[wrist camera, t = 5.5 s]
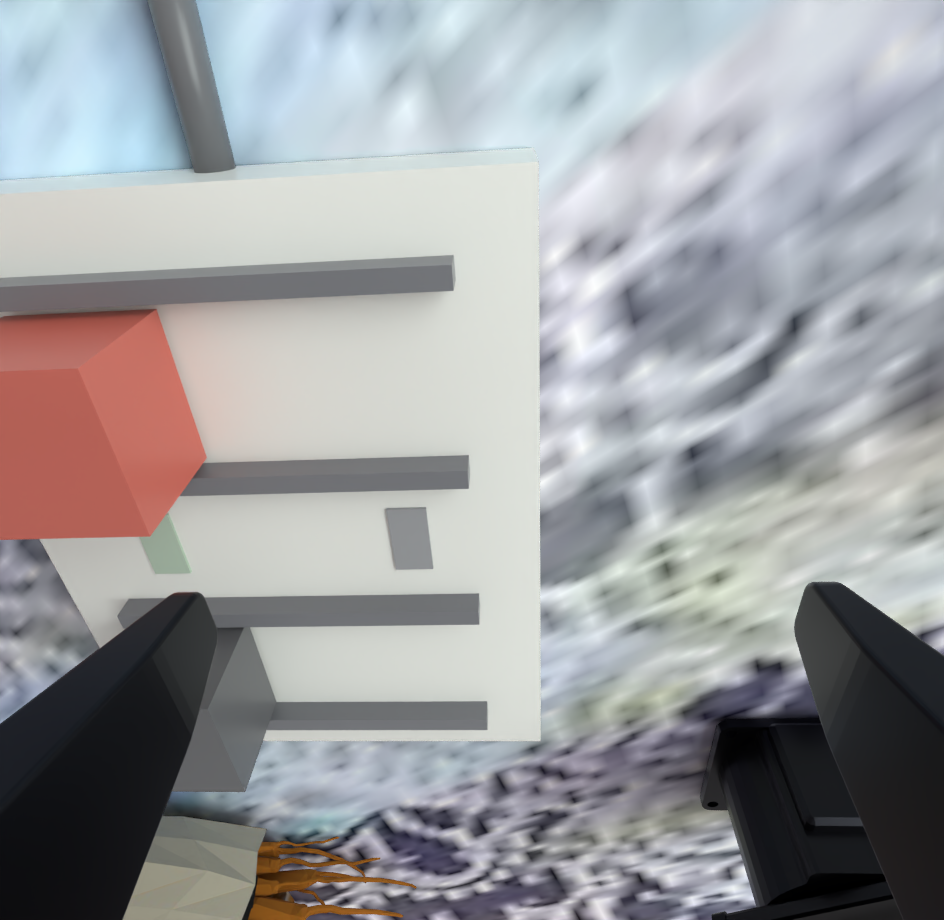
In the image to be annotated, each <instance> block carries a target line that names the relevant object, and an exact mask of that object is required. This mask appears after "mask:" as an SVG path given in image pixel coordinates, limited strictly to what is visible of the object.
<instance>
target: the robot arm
mask: <svg viewBox="0 0 944 920" xmlns="http://www.w3.org/2000/svg"><path fill="white" fill-rule="evenodd" d="M794 630H795V637H796V641H797V644H798V647H799V651H800V654H801V657H802V661H803V664H804V667H805V671H806V674H807V677H808V681H809V684H810V687H811V691H812V694H813V697H814V701H815V704H816V707H817V711H818V714H819V717H820V719H727V720H723V721H721V722H720V723H718V725H717V727H716V732H715V736H714V740H713V744H712V748H711V752H710V756H709V761H708V765H707V769H706V773H705V777H704V781H703V786H702V790H701V794H700V799H701V803H702V807H703V808H705V809H707V810H728V812H729V815H730V819H731V822H732V826H733V829H734V832H735V836H736V839H737V843H738V846H739V849H740V853H741V856H742V859H743V863H744V866H745V870H746V873H747V876H748V880H749V883H750V887H751V890H752V893H753V897H754V900H755V903H756V908H751V909H747V910H742V911H738V912H733V913H728V914H727V913H726V912H725V911H724V912H720V913H715V914H712V920H944V655H942V654H941V653H939V652H938V651H936V650H935V649H934V648H932V647H931V646H929V645H928V644H927V643H925V642H924V641H922V640H921V639H920V638H918V637H917V636H915V635H914V634H912V633H911V632H910V631H908V630H907V629H905V628H904V627H903V626H901V625H900V624H898V623H897V622H896V621H894V620H893V619H891V618H890V617H888V616H887V615H886V614H884V613H883V612H881V611H880V610H879V609H877V608H876V607H874V606H873V605H872V604H870V603H869V602H867V601H866V600H864V599H863V598H862V597H860V596H859V595H857V594H856V593H855V592H853V591H852V590H850V589H849V588H848V587H846V586H845V585H843V584H841V583H839V582H812V583H809V584H808V585H807V586H806V588H805V590H804V593H803V596H802V600H801V603H800V606H799V609H798V613H797V616H796V619H795V625H794ZM217 642H218V631H217V626H216V624H215V621H214V619H213V616H212V614H211V611H210V609H209V606H208V604H207V601H206V599H205V597H204V596H203V595H202V594H201V593H199V592H176V593H173V594H171V595H169V596H168V597H167V598H165V599H164V600H163V601H161V602H160V603H159V604H157V605H156V606H155V607H153V608H152V609H151V610H149V611H148V612H147V613H146V614H144V615H143V616H142V617H140V618H139V619H138V620H136V621H135V622H134V623H132V624H131V625H130V626H128V627H127V628H126V629H124V630H123V631H122V632H121V633H119V634H118V635H117V636H115V637H114V638H113V639H111V640H110V641H109V642H107V643H106V644H105V645H103V646H102V647H101V648H99V649H98V650H97V651H95V652H94V653H93V654H92V655H90V656H89V657H88V658H86V659H85V660H84V661H82V662H81V663H80V664H78V665H77V666H76V667H74V668H73V669H72V670H70V671H69V672H68V673H67V674H65V675H64V676H63V677H61V678H60V679H59V680H57V681H56V682H55V683H53V684H52V685H51V686H49V687H48V688H47V689H45V690H44V691H43V692H42V693H40V694H39V695H38V696H36V697H35V698H34V699H32V700H31V701H30V702H28V703H27V704H26V705H24V706H23V707H22V708H20V709H19V710H18V711H17V712H15V713H14V714H13V715H11V716H10V717H9V718H7V719H6V720H5V721H3V722H2V723H1V724H0V920H123V918H124V915H125V913H126V910H127V907H128V905H129V902H130V899H131V897H132V894H133V892H134V889H135V886H136V884H137V881H138V879H139V876H140V873H141V871H142V868H143V865H144V863H145V860H146V858H147V855H148V852H149V850H150V847H151V845H152V842H153V839H154V837H155V834H156V831H157V829H158V826H159V824H160V821H161V818H162V816H163V813H164V810H165V808H166V805H167V803H168V800H169V797H170V795H171V792H172V790H173V787H174V784H175V782H176V779H177V776H178V774H179V771H180V769H181V766H182V763H183V761H184V758H185V756H186V753H187V750H188V747H189V744H190V742H191V739H192V736H193V732H194V729H195V726H196V722H197V718H198V715H199V711H200V707H201V703H202V700H203V696H204V692H205V688H206V684H207V681H208V677H209V673H210V669H211V666H212V662H213V658H214V654H215V650H216V647H217Z"/></svg>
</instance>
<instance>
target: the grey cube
mask: <svg viewBox="0 0 944 920" xmlns="http://www.w3.org/2000/svg"><path fill="white" fill-rule="evenodd" d="M217 631H218V642H217V647H216V650H215V654H214V658H213V662H212V666H211V669H210V673H209V677H208V681H207V684H206V688H205V692H204V696H203V700H202V703H201V707H200V711H199V715H198V718H197V722H196V726H195V729H194V732H193V736H192V739H191V742H190V744H189V747H188V750H187V753H186V756H185V758H184V761H183V763H182V766H181V769H180V771H179V774H178V776H177V779H176V782H175V784H174V787H173V790H172V791H190V792H245V791H246V788H247V785H248V782H249V780H250V777H251V774H252V771H253V768H254V765H255V762H256V759H257V756H258V754H259V751H260V748H261V745H262V742H263V739H264V736H265V733H266V730H267V727H268V725H269V722H270V719H271V716H272V713H273V710H274V707H275V704H276V699H275V696H274V693H273V690H272V688H271V685H270V682H269V679H268V676H267V674H266V671H265V668H264V665H263V662H262V660H261V657H260V654H259V651H258V648H257V646H256V643H255V640H254V637H253V634H252V632H251V629H250V627H233V628H217Z"/></svg>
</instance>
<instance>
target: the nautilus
mask: <svg viewBox="0 0 944 920" xmlns="http://www.w3.org/2000/svg"><path fill="white" fill-rule="evenodd" d="M266 830H267V829H263V828H256V827H250V826H243V825H236V824H230V823H223V822H216V821H210V820H203V819H196V818H190V817H183V816H162V818H161V821H160V824H159V826H158V829H157V831H156V834H155V837H154V839H153V842H152V845H151V847H150V850H149V852H148V855H147V858H146V860H145V863H144V865H143V868H142V871H141V873H140V876H139V879H138V881H137V884H136V886H135V889H134V892H133V894H132V897H131V899H130V902H129V905H128V907H127V910H126V913H125V915H124V918H123V920H306V918H307V917H309V916H310V915H314V914H318V913H328V912H332V913H336V914H378V915H387V916H397V917H403V915H401V914H399V913H393V912H388V911H383V910H376V909H356V908H342V907H338V906H334V905H325V903H324V901H322V900H321V899H319V897H318V896H317V894H316V893H315V892H314V891H309V890H304V889H305V888H307V887H309V886H311V885H312V884H314V883H316V882H317V881H318V882H322V883H330V882H348V881H356V882H365V883H366V882H384V883H392V884H399V885H405V886H411V887H413V888H415V889H416V886H414V885H413V884H409V883H405V882H401V881H396V880H391V879H384V878H372V877H365V874H364V872H363V871H362V870H360V869H359V868H358V867H356V866H355V865H357V864H361V863H365V862H369V861H374V860H379V859H380V858H370V859H366V860H361V861H357V862H349V861H346V860H344V859H342V858H340V857H338V856H335V855H332V854H330V853H327V852H324V851H322V850H319V849H310V848H305V847H298V848H280V845H283V844H290V845H293V846H304V845H309V844H314V843H325V842H328V841H331V840H334V839H337V838H339V837H334V838H331V839H328V840H325V841H314V842H308V843H302V844H294V843H291V842H289V841H280V842H262V841H263V838H264V836H265V833H266ZM298 852H307V853H315V854H320V855H323V856H326V857H328V858H331V859H334V860H336V861H329V862H322V863H309V862H307V861H304V860H301V859H297V858H292V857H291V858H286V859H281V860H280V858H278V857H279V854H295V853H298ZM289 863H295V864H303V865H305V866H308V867H323V866H329V865H336V864H347V865H349V866H350V867H352V868H354V869H355V870H357V871H359V872H360V873H362V875H363V876H364V877H353V876H350V875H346V874H339V873H333V872H320V871H316V870H312V869H302V870H290V871H279V869H280V868H281V867H282V866H283V865H285V864H289ZM323 876H335V877H323ZM338 877H340V878H338ZM295 890H297V891H300V892H303V893H310V894H312V895H314V897H315V898H316V899H317V900H318V901H319V902H320V903H321V904H322V905H316V906H311V907H307V905H305V904H298V903H294V900H293V898H292V896H291V895H290V894H289V893H288V891H295Z"/></svg>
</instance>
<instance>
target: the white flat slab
mask: <svg viewBox="0 0 944 920" xmlns="http://www.w3.org/2000/svg"><path fill="white" fill-rule="evenodd" d="M147 1H148V5H149V8H150V12H151V16H152V19H153V23H154V27H155V30H156V34H157V38H158V41H159V45H160V49H161V52H162V56H163V60H164V63H165V67H166V71H167V74H168V78H169V82H170V85H171V89H172V93H173V96H174V100H175V104H176V107H177V111H178V114H179V118H180V122H181V125H182V129H183V133H184V136H185V140H186V144H187V147H188V151H189V155H190V158H191V162H192V166H193V168H191V169H175V170H159V171H142V172H126V173H110V174H93V175H77V176H61V177H44V178H28V179H12V180H0V318H1V317H3V316H16V315H37V314H59V313H81V312H102V311H124V310H146V309H157V312H158V315H159V318H160V321H161V324H162V327H163V330H164V333H165V336H166V338H167V341H168V344H169V347H170V350H171V353H172V356H173V359H174V362H175V365H176V368H177V371H178V374H179V377H180V380H181V383H182V386H183V389H184V392H185V394H186V397H187V400H188V403H189V406H190V409H191V412H192V415H193V418H194V421H195V424H196V427H197V430H198V433H199V436H200V439H201V442H202V445H203V448H204V450H205V453H206V456H207V458H206V460H205V461H204V463H203V464H202V465H201V467H200V468H199V469H198V471H197V472H196V474H195V475H194V476H193V478H192V479H191V481H190V482H189V483H188V485H187V486H186V488H185V489H184V490H183V492H182V493H181V494H180V496H179V497H178V499H177V500H176V501H175V503H174V504H173V506H172V507H171V508H170V510H169V511H168V512H167V514H166V515H165V517H164V518H163V519H162V521H161V522H160V524H159V525H158V526H157V528H156V529H155V530H154V532H153V533H152V535H151V536H150V537H105V538H58V539H40V541H41V543H42V545H43V546H44V548H45V550H46V552H47V554H48V555H49V557H50V559H51V561H52V563H53V564H54V566H55V568H56V570H57V572H58V573H59V575H60V577H61V579H62V581H63V582H64V584H65V586H66V588H67V590H68V591H69V593H70V595H71V597H72V599H73V600H74V602H75V604H76V606H77V608H78V610H79V611H80V613H81V615H82V617H83V619H84V620H85V622H86V624H87V626H88V628H89V629H90V631H91V633H92V635H93V637H94V638H95V640H96V642H97V644H98V646H99V647H100V648H101V647H102V646H103V645H105V644H106V643H107V642H109V641H110V640H111V639H113V638H114V637H115V636H117V635H118V634H119V633H121V632H122V631H123V630H124V629H126V628H127V627H128V626H130V625H131V624H132V623H134V622H135V621H136V620H138V619H139V618H140V617H142V616H143V615H144V614H146V613H147V612H148V611H149V610H151V609H152V608H153V607H155V606H156V605H157V604H159V603H160V602H161V601H163V600H164V599H165V598H167V597H168V596H169V595H171V594H173V593H176V592H199V593H201V594H202V595H203V596H204V597H205V599H206V601H207V604H208V606H209V609H210V611H211V614H212V616H213V619H214V621H215V624H216V626H217V628H233V627H250V629H251V632H252V634H253V637H254V640H255V643H256V646H257V648H258V651H259V654H260V657H261V660H262V662H263V665H264V668H265V671H266V674H267V676H268V679H269V682H270V685H271V688H272V690H273V693H274V696H275V699H276V704H275V707H274V710H273V713H272V716H271V719H270V722H269V725H268V727H267V730H266V733H265V736H264V739H263V741H541V696H540V398H539V161H538V158H537V155H536V152H535V149H534V148H518V149H502V150H485V151H469V152H453V153H436V154H420V155H404V156H387V157H371V158H355V159H338V160H322V161H306V162H289V163H273V164H257V165H240V166H235V162H234V158H233V154H232V150H231V146H230V142H229V137H228V133H227V129H226V125H225V121H224V117H223V112H222V108H221V104H220V100H219V96H218V92H217V87H216V83H215V79H214V75H213V71H212V67H211V62H210V58H209V54H208V50H207V46H206V42H205V37H204V33H203V29H202V25H201V21H200V16H199V12H198V8H197V4H196V0H147Z"/></svg>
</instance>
